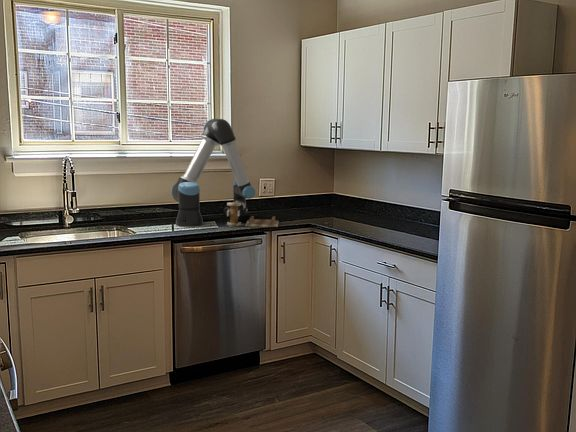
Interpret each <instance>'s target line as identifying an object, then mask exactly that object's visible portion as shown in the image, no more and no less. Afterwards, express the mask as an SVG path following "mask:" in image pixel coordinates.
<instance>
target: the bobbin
mask: <svg viewBox="0 0 576 432" xmlns="http://www.w3.org/2000/svg"><path fill="white" fill-rule="evenodd" d="M238 206H241V203H239V202H233V201H232V202H226V207H229V208H230V215H229V221H227V222H226V226H229V227H238V226H239V225H240V226H241V225H242V222H241V221H239V216H238Z"/></svg>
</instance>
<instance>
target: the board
mask: <svg viewBox="0 0 576 432" xmlns="http://www.w3.org/2000/svg"><path fill="white" fill-rule="evenodd" d="M279 224H280V220H276V215H275V216H274V215H273V216H272V217H271V219H255V216H254V215H251V216H250V217H249V219H248V220H247V221H246V223H245V227H257V228H260V227H264V228H265V227H266V228H278V227H279Z"/></svg>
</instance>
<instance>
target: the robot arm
mask: <svg viewBox="0 0 576 432" xmlns="http://www.w3.org/2000/svg"><path fill="white" fill-rule="evenodd" d="M217 146H221V147H222V149H223V151H224V154H225V156H226V159H227V163H228V164H229V166H230V169H231V172H232V174H233V176H234V177H233V178H234V180H233V183H232V189H233V190H232V192H233V193H232V194H233V195H232V196H233V197H232V202H239V203H241V206H238V217H240V216H241V215H247V213H248V212H249V211H248V209H249V208H248V207H247V201H246V200H249V199H253V198H254V197H255V195H256V189H255V187H253V186H252V184H251V182H250V179H249V177H248V173H247V171H246V168H245V166H244V163H243V160H242V158H241V155H240V151H239V150H238V146H237V144H236V136H235V133H234V130H233V128H232V127H231V124H230V122H228V120H226V119H223V118H212V119H209V120H207V121H206V123H205V124H204V125H203V131H202V133H201V141H200V143H199V145H198V147H197V149H196V151H195V152H194V154H193V156H192V158H191V160H190V162H189V164H188V166H187V168H186V171H184V173H183V175H181V176H179V177H178V180H177V182H175V183H174V184H173V186H172V187H171V190H170V193H171V196H172V198H173V199H174V200H175V201H176V202H178V213H177V216H176V219H175V226H181V227H196V226H202V225H204V219H203V217H202V216H203V215H202V214H201V211H200V192H201V191H200V185H199V184H198V180H199V179H200V177H201V175H202V173H203V171H204V170H205V167H206V165H207V163H208V161H209V159H210V158H211V155H213V151H214V150H215V147H217ZM223 215H226V217H230V207H228V206H225V207H224V209H223Z"/></svg>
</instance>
